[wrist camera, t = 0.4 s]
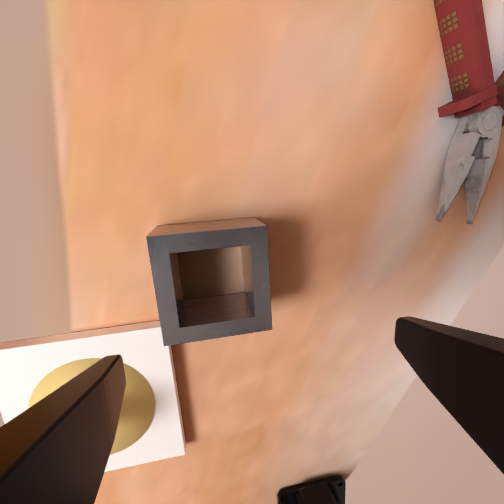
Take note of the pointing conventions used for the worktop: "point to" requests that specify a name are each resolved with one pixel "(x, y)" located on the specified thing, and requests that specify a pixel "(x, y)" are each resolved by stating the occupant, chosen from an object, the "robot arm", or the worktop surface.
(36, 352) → the post base
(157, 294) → the grey hollow square box
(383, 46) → the worktop surface
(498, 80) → the pliers
